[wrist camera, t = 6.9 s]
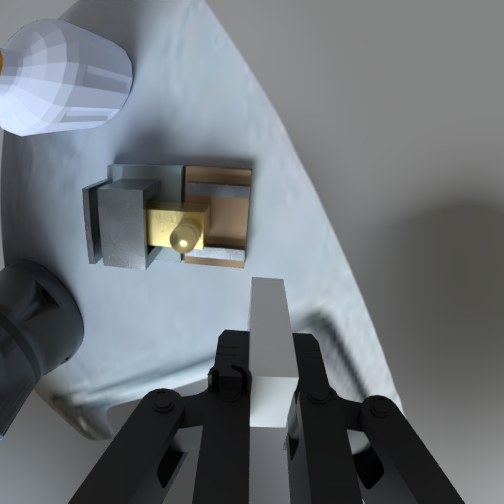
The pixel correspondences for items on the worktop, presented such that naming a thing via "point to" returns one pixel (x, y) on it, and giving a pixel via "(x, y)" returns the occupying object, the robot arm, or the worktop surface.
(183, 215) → the bolt
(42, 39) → the soap bottle
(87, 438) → the worktop surface
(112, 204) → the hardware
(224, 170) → the panel
